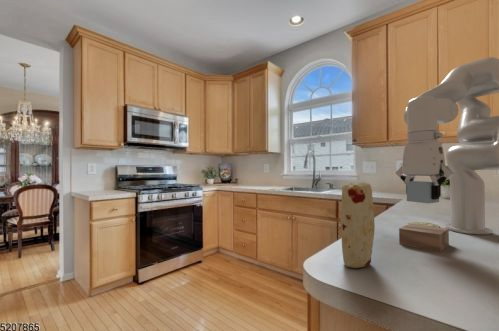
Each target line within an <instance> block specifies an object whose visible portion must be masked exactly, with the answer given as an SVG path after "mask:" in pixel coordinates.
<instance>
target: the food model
mask: <svg viewBox="0 0 499 331" xmlns="http://www.w3.org/2000/svg"><path fill="white" fill-rule="evenodd" d="M373 200H374V199H373V189H372V185H371V184H370V183H368V182H366V181H360V182H357V183H356V182H354V183H353V182H349V183H347V184H343V185H342V187H341V204H340V206H341V208H340V209H341V210H340V235H341V248H342V251H341V252H342V259H343V264H344V265H345V267H347V268H352V269H357V268H358V269H359V268H364V267H367V266H369V265H370V264H372V254H373V246H374V239H375V238H374V236H375V228H376V227H375V226H376V225H375V212H374V210H375V209H374V201H373Z"/></svg>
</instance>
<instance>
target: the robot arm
mask: <svg viewBox="0 0 499 331" xmlns="http://www.w3.org/2000/svg"><path fill="white" fill-rule="evenodd" d="M493 94H499V58H497V57H492V56H490V57H484V58H482V59H477V60H475V61H472V62H471V61H470V62H468V63H467V62H466V63H464V64H461V65H459V66H457V67H456V66H455V67H454V68H453V69H452V70H451V71H450V72H449V73H447V75H446V76H445V78H444V79H443V80H441V83H439V84H437V85H436V86H433V87H432V88H430V89H429V90H426V91H424V92H423V93H421V94H419V95H418V96H416V97H414V98H412V99H410V100H409V101H408V102H407V107H406V108H405V110H404V112H403V121H404V123H405V125H406V127H407V128H406V130H407V139H406V140H407V143H405V146H404V148H403V154H402V165H401V166H400V167H399V168H398V169H397V170H396V172H395V175H397V176H398V178H400V179H401V180H402V181H403V183H404V185H405V194H406V195H407V182H408V181H415V179H416V177H417V176H418V177H419V176H421V177H423V176H424V177H425V176H427V177H428V176H429V177H430V179H431V182H433V186H432V187H431V193H432V199H434V200H435V199H439V200H440V197H441V196H442V193H441V192H442V191H441V190H442V189H441V188H442V186H443V184H444V183H445V182H447V181H448V180H449V202H450V204H449V205H450V223H447V224H445V225H444V226H445V229H449V231H451V232H455V233H461V234H467V235H477V236H478V235H483V236H485V235H491V234H492V233H493V232H492V229H491V228H489V227H486V201H485V200H486V195H485V194H486V192H485V186H486V185H485V182H484V179H483V178H482V177H481V176H480V175H479V174H478V173H477V172H476V171H499V115H492V116H491V114H492V109H491V106H489V105H488V104H487V103H485V102H484V101H482V100H480V99H478V98H479V97H486V96H489V95H493ZM459 109H460V110H459ZM459 111H460V118H459V122H458V126H457V130H456V140H457V142H459V143H460V144H456V145H453V146H451V147H449V148H448V149H447V151H446V153H444V148H443V145H442V141H439V139H440V138H444V133H443V132H439V131H438V125H441V124H448V123H450V122H452V121H454V120H455V119H456V118H457V117H458V115H459ZM445 158H446V159H445ZM446 164H447V165H446Z"/></svg>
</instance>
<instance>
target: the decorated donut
mask: <svg viewBox="0 0 499 331" xmlns="http://www.w3.org/2000/svg"><path fill="white" fill-rule="evenodd" d="M408 224H417V225H424V226H431V227H438V228H442V227H441V226H440V225H438V224H435V223H432V222H419V221H411V222H407V223H405V226H406V225H408Z"/></svg>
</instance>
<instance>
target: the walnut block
mask: <svg viewBox="0 0 499 331" xmlns="http://www.w3.org/2000/svg"><path fill="white" fill-rule="evenodd" d="M449 232H450V230H449V229H447V228H446V227H445V228H444V227H441V228H438V227H431V226H424V225H417V224H408V225H406V224H405V225H403V226H401V227H399V228H398V238H399V243H398V244H399V245H403V246H408V247H413V248H418V249H422V250H427V251H431V252H436V253H441V252H442V251H443V250H444V249H446V248H447V247H448V246H449V245H450V241H449V239H450V238H449V235H450V234H449Z"/></svg>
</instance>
